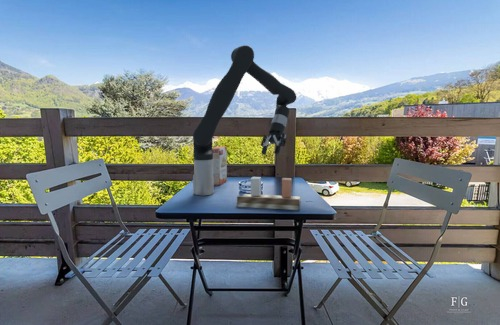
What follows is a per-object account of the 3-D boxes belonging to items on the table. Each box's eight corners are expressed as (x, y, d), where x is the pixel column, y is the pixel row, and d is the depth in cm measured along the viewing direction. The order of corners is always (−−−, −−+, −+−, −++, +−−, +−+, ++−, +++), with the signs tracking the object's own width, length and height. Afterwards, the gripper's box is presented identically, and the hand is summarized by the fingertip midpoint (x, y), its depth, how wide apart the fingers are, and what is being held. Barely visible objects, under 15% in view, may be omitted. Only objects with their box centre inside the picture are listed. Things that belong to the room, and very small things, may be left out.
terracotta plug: (281, 197, 121) (281, 179, 120) (282, 194, 125) (282, 177, 124) (290, 197, 120) (291, 180, 119) (291, 195, 124) (291, 178, 123)
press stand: (236, 206, 115) (236, 197, 114) (244, 196, 129) (244, 188, 129) (299, 210, 110) (299, 200, 109) (300, 199, 124) (300, 191, 124)
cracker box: (220, 185, 152) (219, 148, 149) (210, 185, 153) (209, 148, 150) (227, 180, 165) (227, 146, 162) (218, 180, 167) (217, 146, 164)
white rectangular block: (250, 195, 124) (250, 178, 123) (252, 193, 128) (252, 176, 127) (259, 196, 123) (259, 178, 122) (260, 193, 127) (260, 177, 126)
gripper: (263, 123, 142) (254, 151, 137) (284, 119, 131) (275, 150, 127) (272, 130, 147) (264, 157, 142) (293, 127, 136) (285, 157, 132)
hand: (269, 154), depth 134 cm, fingers open, 8 cm apart
